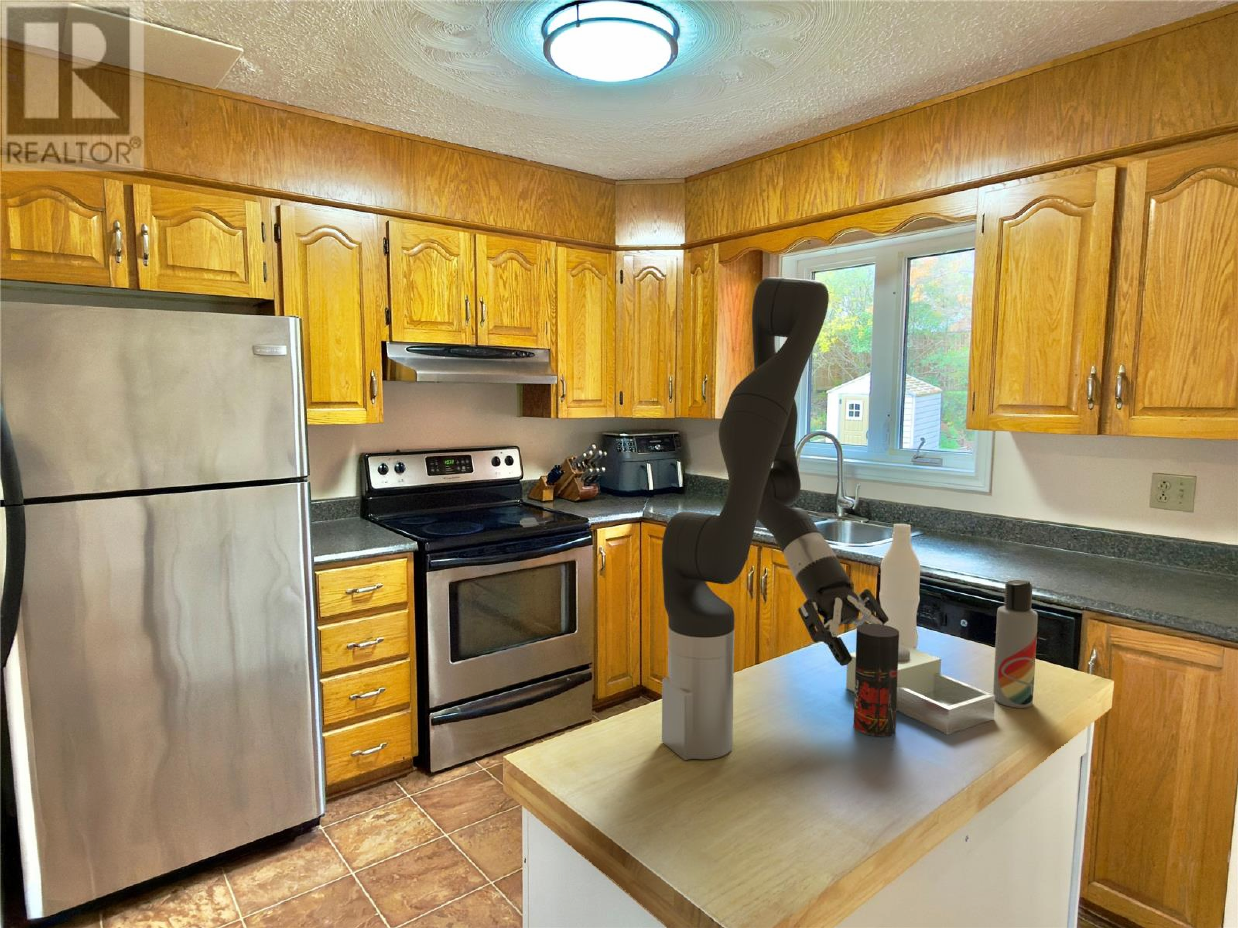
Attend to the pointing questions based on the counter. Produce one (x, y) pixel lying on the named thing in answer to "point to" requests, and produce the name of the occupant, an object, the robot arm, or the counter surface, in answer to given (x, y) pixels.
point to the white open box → (947, 705)
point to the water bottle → (901, 586)
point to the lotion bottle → (1015, 647)
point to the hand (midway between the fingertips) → (868, 658)
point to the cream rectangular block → (907, 670)
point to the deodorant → (876, 679)
